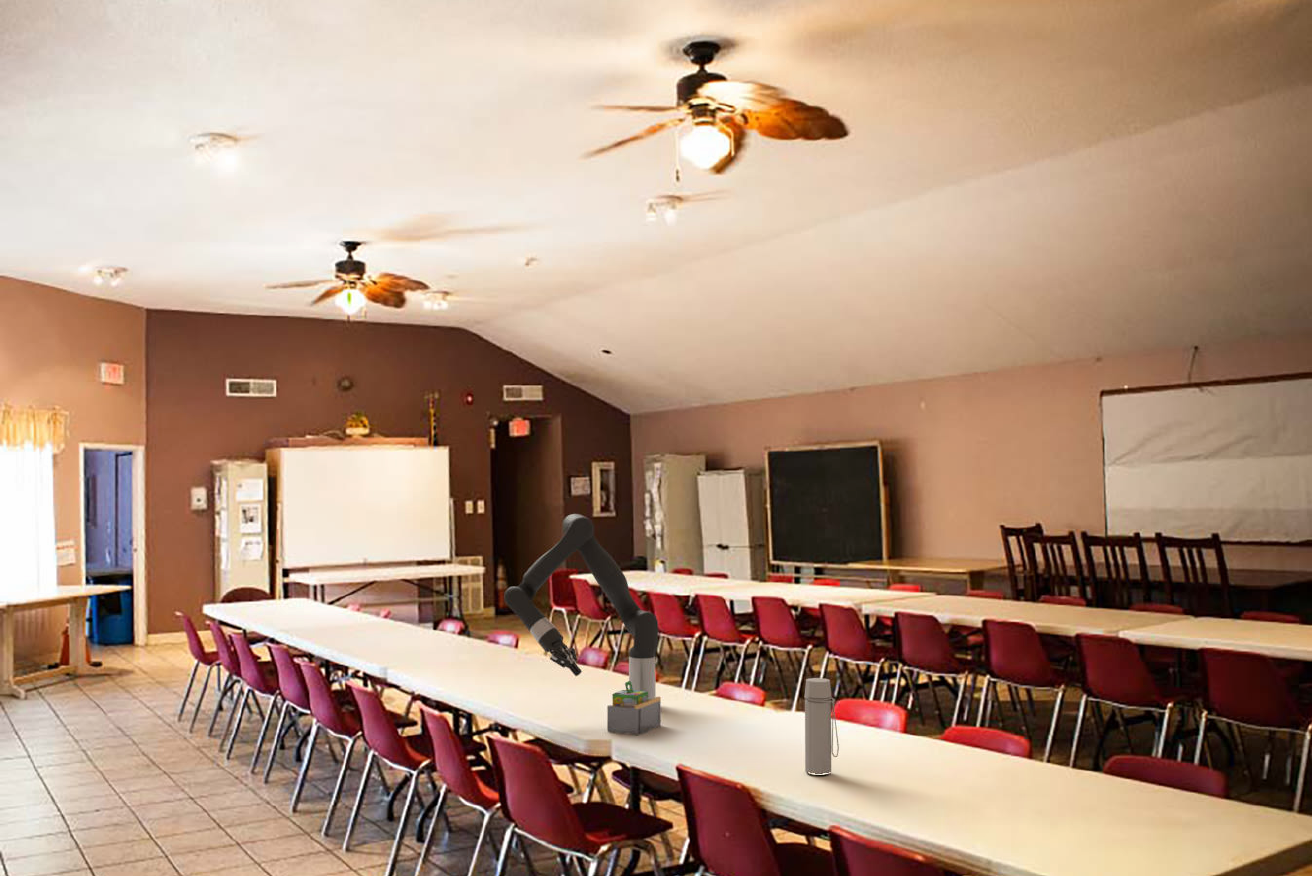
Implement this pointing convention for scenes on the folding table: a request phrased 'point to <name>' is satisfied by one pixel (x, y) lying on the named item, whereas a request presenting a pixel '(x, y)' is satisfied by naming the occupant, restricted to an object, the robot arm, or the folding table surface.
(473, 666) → the folding table surface
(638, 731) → the grey rectangular box
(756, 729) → the folding table surface
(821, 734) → the water bottle
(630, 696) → the chalk box
